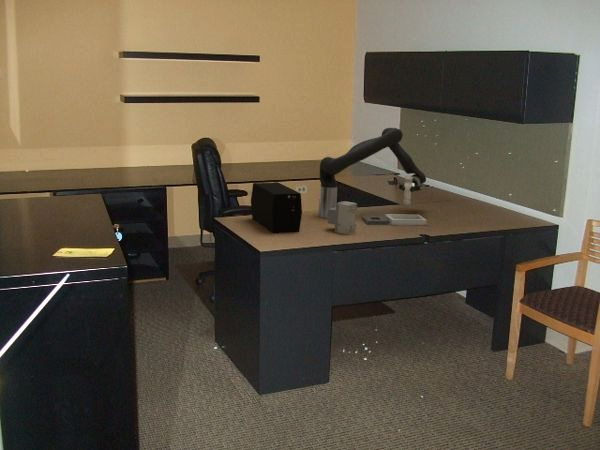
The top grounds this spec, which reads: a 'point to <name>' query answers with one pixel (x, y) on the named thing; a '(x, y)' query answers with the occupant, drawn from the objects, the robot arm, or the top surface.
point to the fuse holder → (375, 220)
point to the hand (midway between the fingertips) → (407, 189)
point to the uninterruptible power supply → (276, 207)
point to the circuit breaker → (343, 217)
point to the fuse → (407, 190)
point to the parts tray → (405, 219)
